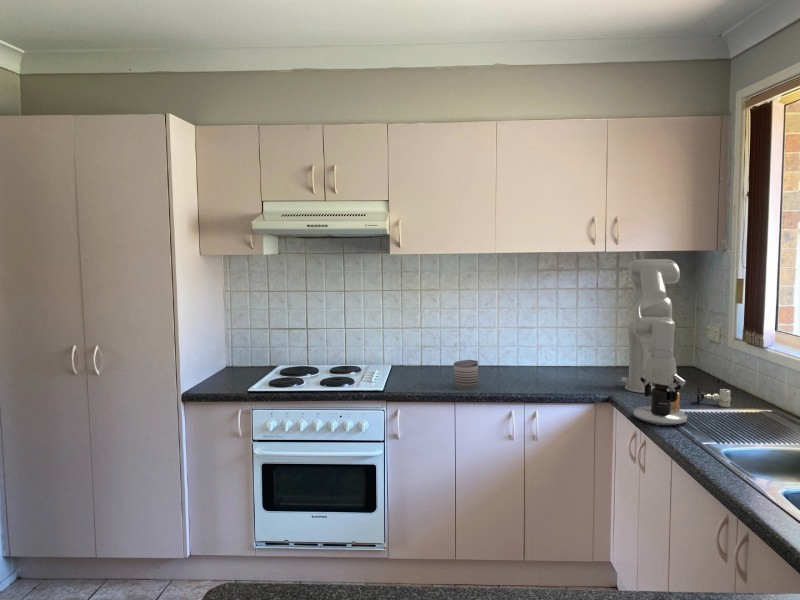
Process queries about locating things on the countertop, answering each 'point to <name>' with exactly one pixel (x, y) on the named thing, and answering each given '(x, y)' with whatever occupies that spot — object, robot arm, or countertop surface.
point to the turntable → (672, 418)
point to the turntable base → (657, 423)
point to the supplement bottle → (660, 400)
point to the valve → (716, 397)
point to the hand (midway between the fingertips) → (660, 398)
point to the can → (466, 374)
